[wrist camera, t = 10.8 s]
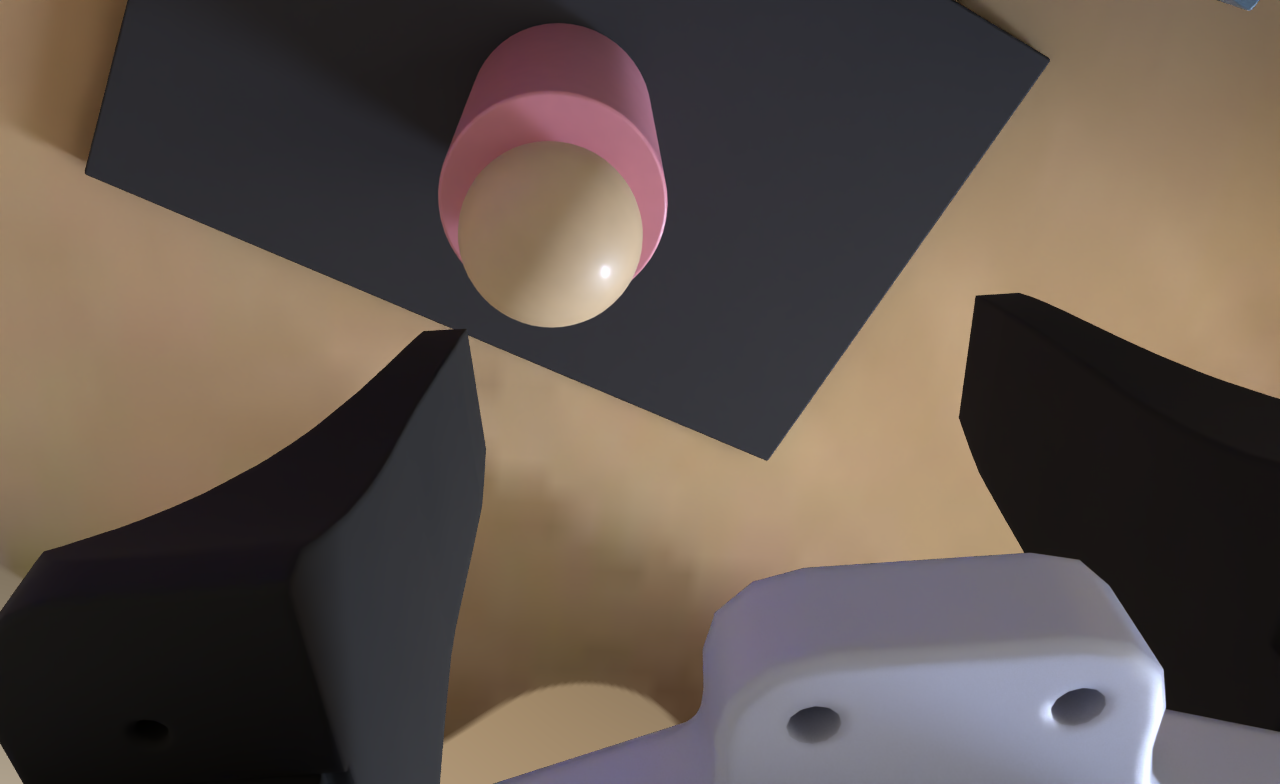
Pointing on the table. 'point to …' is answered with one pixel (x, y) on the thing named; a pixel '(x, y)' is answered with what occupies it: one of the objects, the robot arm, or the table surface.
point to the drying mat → (689, 147)
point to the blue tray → (1242, 3)
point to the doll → (554, 177)
